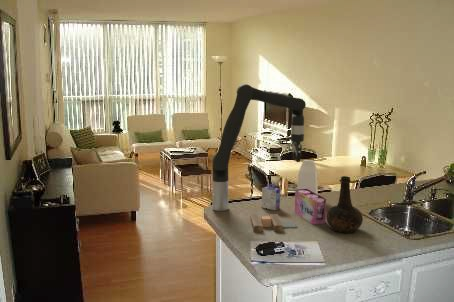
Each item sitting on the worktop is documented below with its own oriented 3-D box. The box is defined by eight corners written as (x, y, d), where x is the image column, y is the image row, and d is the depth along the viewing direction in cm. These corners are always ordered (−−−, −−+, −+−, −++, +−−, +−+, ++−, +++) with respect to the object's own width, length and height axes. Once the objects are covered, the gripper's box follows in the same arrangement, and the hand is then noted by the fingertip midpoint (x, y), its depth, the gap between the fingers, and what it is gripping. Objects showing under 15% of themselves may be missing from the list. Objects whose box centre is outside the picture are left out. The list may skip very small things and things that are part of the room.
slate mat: (282, 228, 227) (282, 226, 227) (279, 222, 235) (279, 221, 235) (297, 227, 228) (297, 226, 228) (294, 222, 236) (294, 221, 236)
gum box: (327, 224, 233) (328, 199, 231) (314, 225, 231) (315, 201, 229) (306, 211, 256) (307, 188, 253) (294, 212, 254) (294, 189, 251)
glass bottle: (365, 227, 228) (368, 175, 223) (356, 238, 213) (359, 182, 208) (331, 221, 237) (334, 171, 232) (321, 232, 222) (323, 178, 217)
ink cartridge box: (280, 208, 260) (281, 184, 258) (275, 210, 256) (276, 186, 253) (266, 205, 266) (266, 182, 263) (261, 207, 261) (261, 184, 259)
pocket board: (253, 231, 222) (253, 225, 221) (250, 220, 239) (250, 214, 239) (282, 231, 222) (283, 225, 222) (277, 219, 240) (277, 214, 240)
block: (262, 227, 229) (262, 219, 228) (261, 224, 233) (261, 216, 232) (270, 227, 229) (270, 218, 228) (269, 224, 233) (269, 216, 233)
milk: (296, 202, 272) (297, 161, 267) (298, 197, 283) (300, 158, 278) (315, 204, 269) (317, 162, 264) (317, 199, 279) (319, 159, 275)
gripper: (288, 131, 260) (287, 158, 263) (293, 134, 246) (292, 163, 249) (301, 131, 260) (300, 158, 263) (306, 134, 246) (305, 162, 249)
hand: (296, 160), depth 256 cm, fingers open, 8 cm apart
